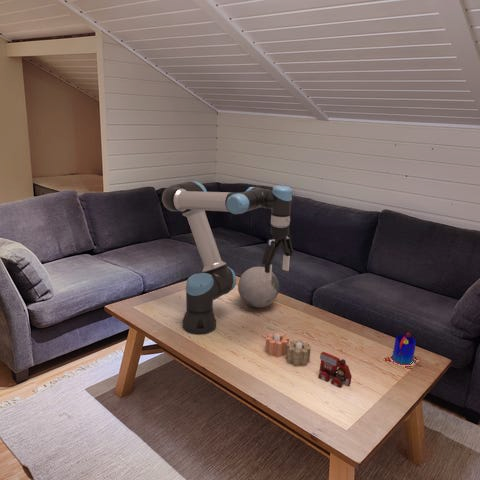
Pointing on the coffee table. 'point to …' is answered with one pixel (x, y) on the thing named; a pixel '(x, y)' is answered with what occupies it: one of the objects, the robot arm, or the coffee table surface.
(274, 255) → the robot arm
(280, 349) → the loose gear
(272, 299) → the moon model
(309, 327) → the coffee table surface
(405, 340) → the fantasy tower
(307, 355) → the gear
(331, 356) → the toy fire truck
